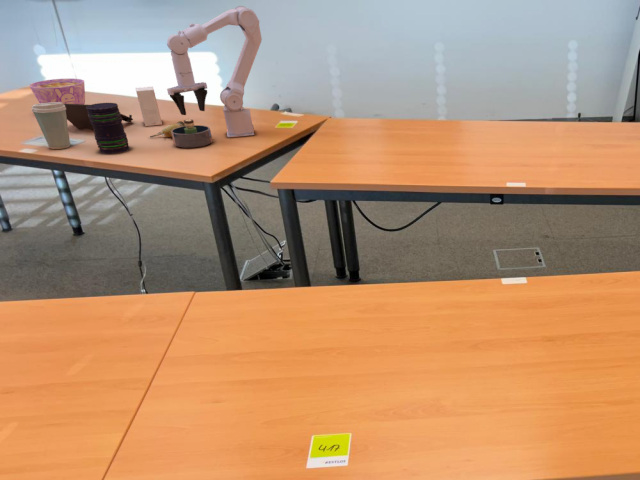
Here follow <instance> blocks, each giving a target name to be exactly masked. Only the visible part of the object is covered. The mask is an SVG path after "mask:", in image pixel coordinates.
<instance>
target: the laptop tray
mask: <svg viewBox="0 0 640 480" xmlns="http://www.w3.org/2000/svg"><path fill="white" fill-rule="evenodd" d="M64 105H65V107H66V117H67V122H69V123H70V124H71V125H72V126H73V127H75V128H76V129H77V130H79V131H80V130H93V131H94V129H93V126H92V124H91V122H90V119H89V116H88V115H89V114H88V110H87V108H86V107H87V106H89V105H90V104H64ZM120 114H121V118H122V122H126V123H132V121H134V119H133V115H132V114H129V115H125V114H123V113H120Z"/></svg>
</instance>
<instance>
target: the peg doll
mask: <svg viewBox="0 0 640 480" xmlns="http://www.w3.org/2000/svg"><path fill="white" fill-rule="evenodd" d="M183 123H184V124H185V127H186V128H184V130H185V134H193V133H197V129H196V127H194V125H195V121H194V119H190V118H189V119H184V120H183Z"/></svg>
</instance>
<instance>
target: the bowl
mask: <svg viewBox="0 0 640 480" xmlns="http://www.w3.org/2000/svg"><path fill="white" fill-rule="evenodd" d="M194 127H196V129H197V133H193V134H185V130H184V128H186V127H185V126H183V127H178V128H175V129H173V130H171V134H172V137H171V138H172V143H173V145H174V146H175V147H178V148H181V149H196V148H202V147H205V146H206V147H207V146H208V145H210V144H211V143H213V142H214V141H213V140H214V139H213V136H212V132H211V127H210V126H207V125H201V124H199V125H198V124H194Z"/></svg>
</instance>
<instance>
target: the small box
mask: <svg viewBox="0 0 640 480" xmlns="http://www.w3.org/2000/svg"><path fill="white" fill-rule="evenodd" d="M135 92H136V96H137V99H138V104H139V108H140V113H141V115H142V120H143V124H144V127H152V126H162V125H163V122H162V117H161V113H160V109H159V105H158V102H157V101H158V100H157V96H156V93H155V89H154V86H142V87H141V86H140V87H139V86H138V87H135Z"/></svg>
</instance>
